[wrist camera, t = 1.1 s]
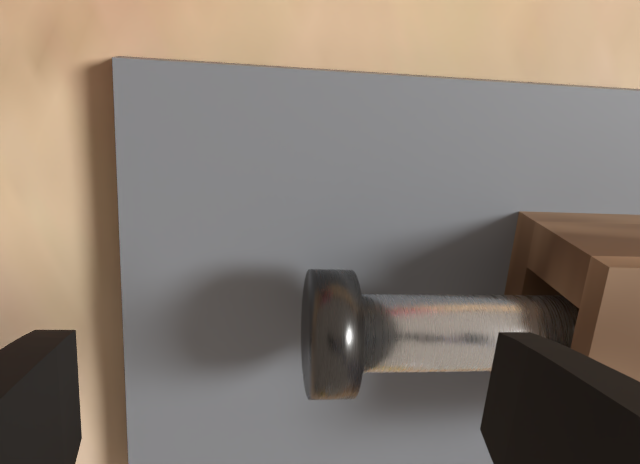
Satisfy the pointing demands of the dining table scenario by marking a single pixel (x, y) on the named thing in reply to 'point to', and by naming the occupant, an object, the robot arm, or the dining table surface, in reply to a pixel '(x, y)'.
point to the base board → (329, 240)
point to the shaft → (410, 331)
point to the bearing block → (585, 278)
